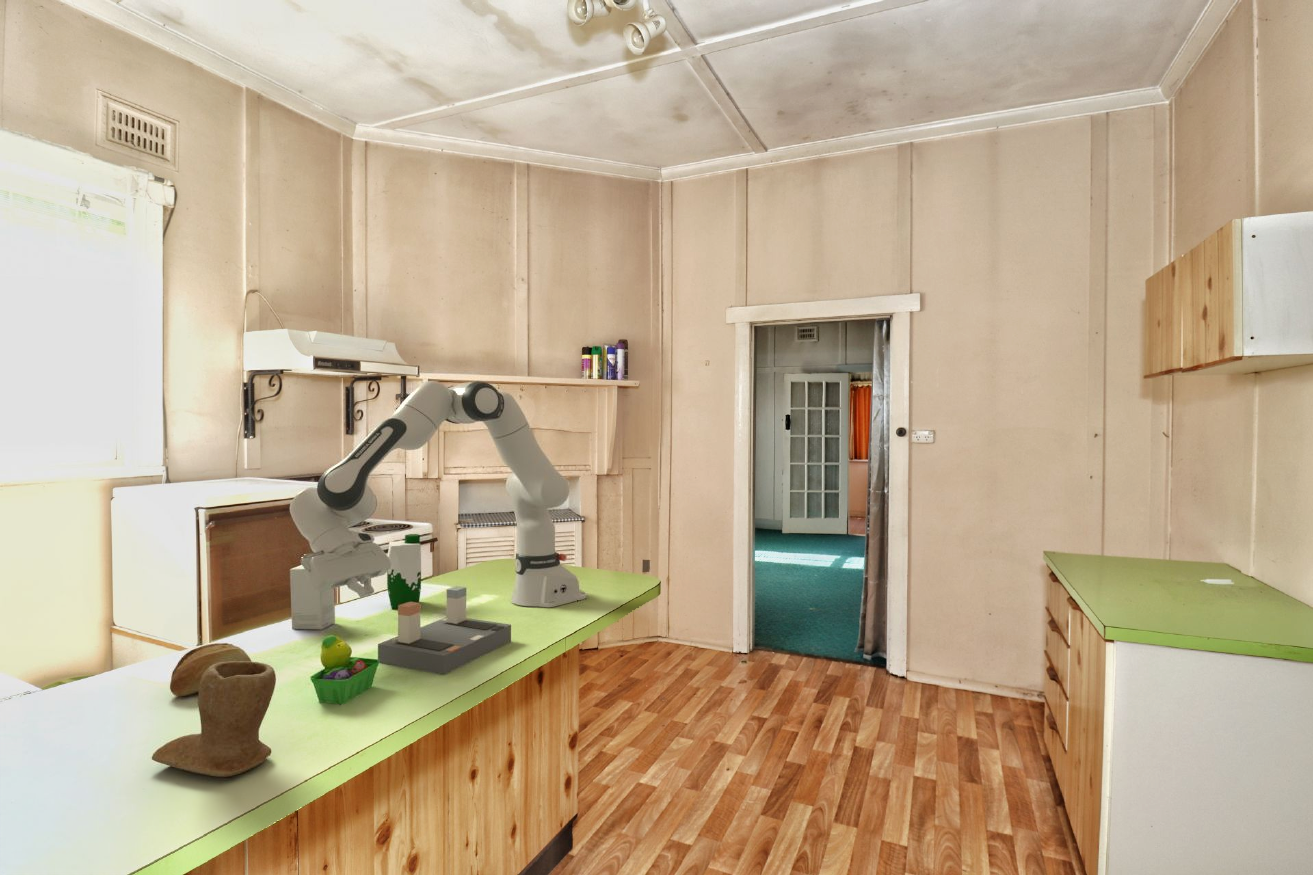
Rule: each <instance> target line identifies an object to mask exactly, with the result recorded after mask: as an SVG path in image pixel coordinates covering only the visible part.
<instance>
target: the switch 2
mask: <svg viewBox="0 0 1313 875" xmlns="http://www.w3.org/2000/svg"><path fill="white" fill-rule="evenodd" d="M445 618H446V622H448V623H454V624H457V623H460V622H462V621H465V620H466V618H467V587H466V586H458V585H455V586H453V587H449V588H447V589H446V617H445Z"/></svg>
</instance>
